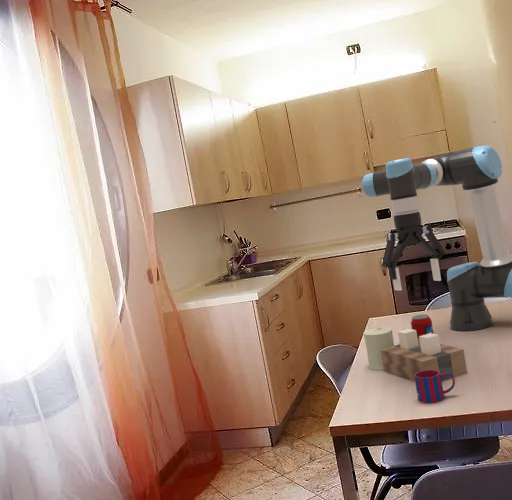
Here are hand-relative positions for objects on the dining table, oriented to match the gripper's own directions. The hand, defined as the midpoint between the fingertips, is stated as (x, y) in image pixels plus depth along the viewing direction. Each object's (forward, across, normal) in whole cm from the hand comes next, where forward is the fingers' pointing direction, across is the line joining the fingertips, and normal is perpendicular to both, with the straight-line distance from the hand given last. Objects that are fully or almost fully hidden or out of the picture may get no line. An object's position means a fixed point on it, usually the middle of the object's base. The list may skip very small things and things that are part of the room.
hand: (418, 285), depth 180 cm
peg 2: (+22, 0, +1) cm, 22 cm away
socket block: (+27, 0, -5) cm, 27 cm away
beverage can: (+27, -14, -23) cm, 38 cm away
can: (+27, +4, -21) cm, 35 cm away
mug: (+27, +10, +16) cm, 33 cm away
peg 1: (+22, 0, -10) cm, 24 cm away
